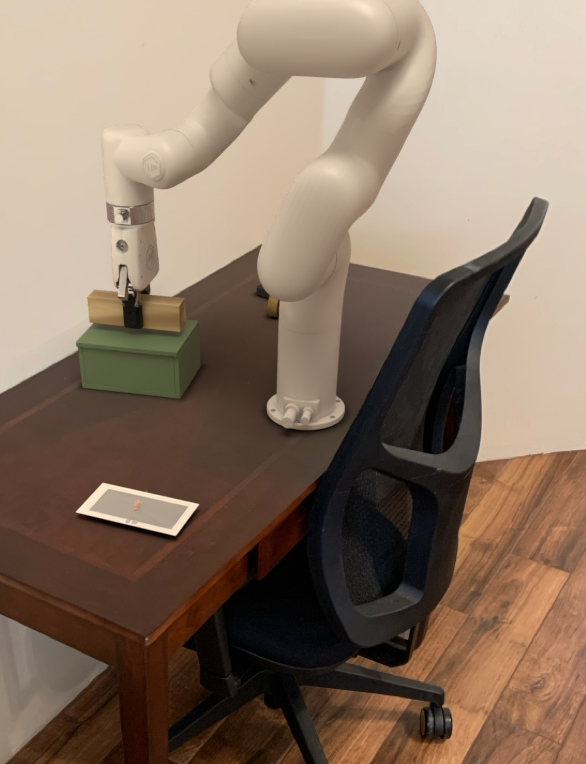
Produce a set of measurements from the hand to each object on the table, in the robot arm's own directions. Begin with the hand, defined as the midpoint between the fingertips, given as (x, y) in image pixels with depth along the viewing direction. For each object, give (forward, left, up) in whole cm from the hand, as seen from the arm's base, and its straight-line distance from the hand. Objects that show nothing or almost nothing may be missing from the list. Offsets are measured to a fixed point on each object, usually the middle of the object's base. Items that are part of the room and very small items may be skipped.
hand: (137, 321), depth 151 cm
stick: (0, 0, 0) cm, 0 cm away
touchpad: (-40, -13, -10) cm, 43 cm away
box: (0, 0, -10) cm, 10 cm away
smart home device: (+48, -19, -9) cm, 53 cm away
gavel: (+39, -22, -10) cm, 46 cm away
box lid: (0, 0, -2) cm, 2 cm away
